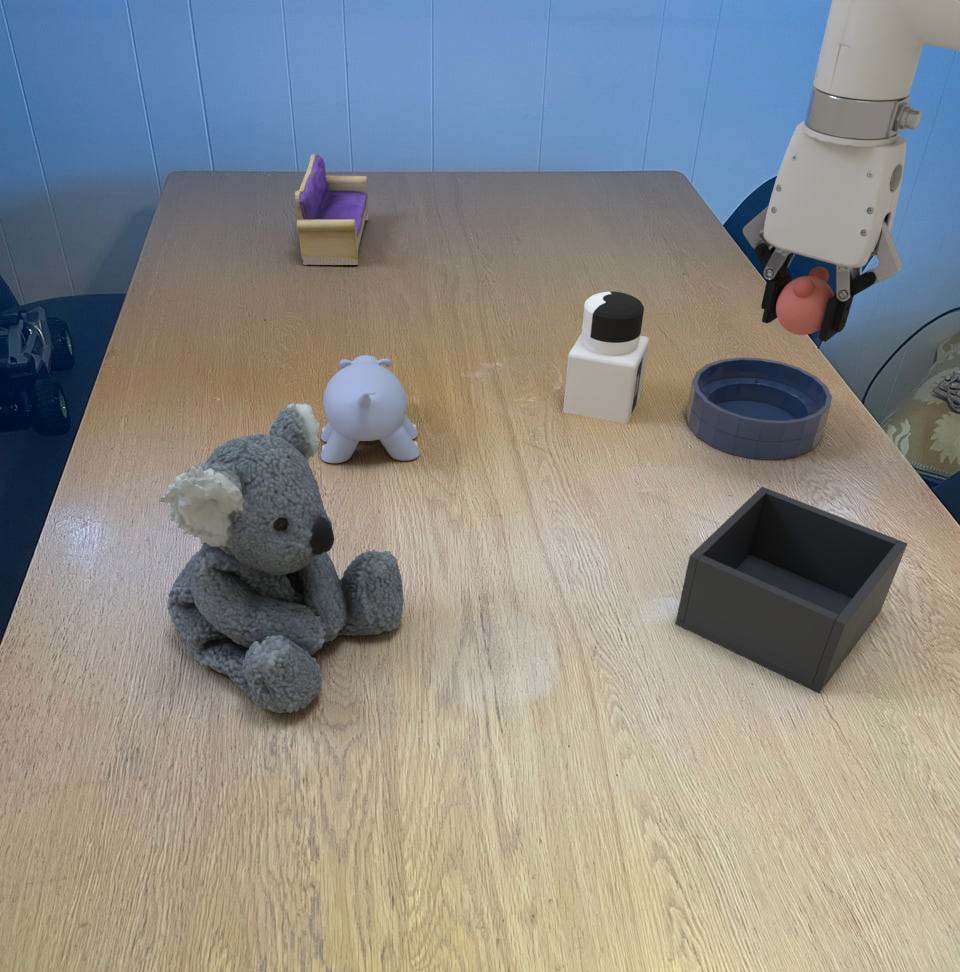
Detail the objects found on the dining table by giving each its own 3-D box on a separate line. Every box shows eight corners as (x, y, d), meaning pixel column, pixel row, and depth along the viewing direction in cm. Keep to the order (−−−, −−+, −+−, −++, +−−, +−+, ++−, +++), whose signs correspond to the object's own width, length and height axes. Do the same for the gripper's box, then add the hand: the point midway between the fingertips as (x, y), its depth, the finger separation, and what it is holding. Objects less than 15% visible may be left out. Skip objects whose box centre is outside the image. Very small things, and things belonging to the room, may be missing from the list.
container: (641, 397, 116) (656, 291, 107) (627, 427, 110) (642, 318, 102) (579, 385, 118) (589, 280, 109) (562, 415, 112) (571, 307, 103)
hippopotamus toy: (414, 403, 114) (412, 325, 107) (422, 472, 103) (420, 390, 96) (322, 406, 113) (314, 328, 106) (320, 476, 102) (311, 394, 95)
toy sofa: (358, 268, 143) (354, 196, 136) (300, 267, 143) (292, 195, 136) (371, 219, 159) (367, 152, 152) (318, 218, 158) (312, 150, 152)
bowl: (841, 424, 112) (853, 385, 109) (784, 479, 103) (796, 438, 100) (723, 383, 119) (731, 345, 116) (661, 432, 110) (668, 392, 107)
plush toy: (835, 331, 92) (852, 271, 88) (812, 349, 89) (828, 288, 85) (785, 315, 94) (799, 257, 90) (760, 333, 91) (774, 273, 87)
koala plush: (290, 737, 74) (257, 531, 61) (126, 650, 81) (64, 448, 68) (418, 615, 85) (413, 418, 72) (264, 547, 92) (233, 356, 79)
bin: (880, 610, 87) (907, 543, 82) (819, 693, 79) (845, 624, 74) (744, 552, 93) (761, 485, 88) (674, 623, 85) (689, 555, 80)
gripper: (974, 126, 77) (902, 341, 89) (778, 88, 85) (737, 290, 97) (941, 146, 73) (870, 369, 85) (738, 104, 81) (700, 314, 93)
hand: (800, 325), depth 91 cm, fingers closed on plush toy, 5 cm apart
